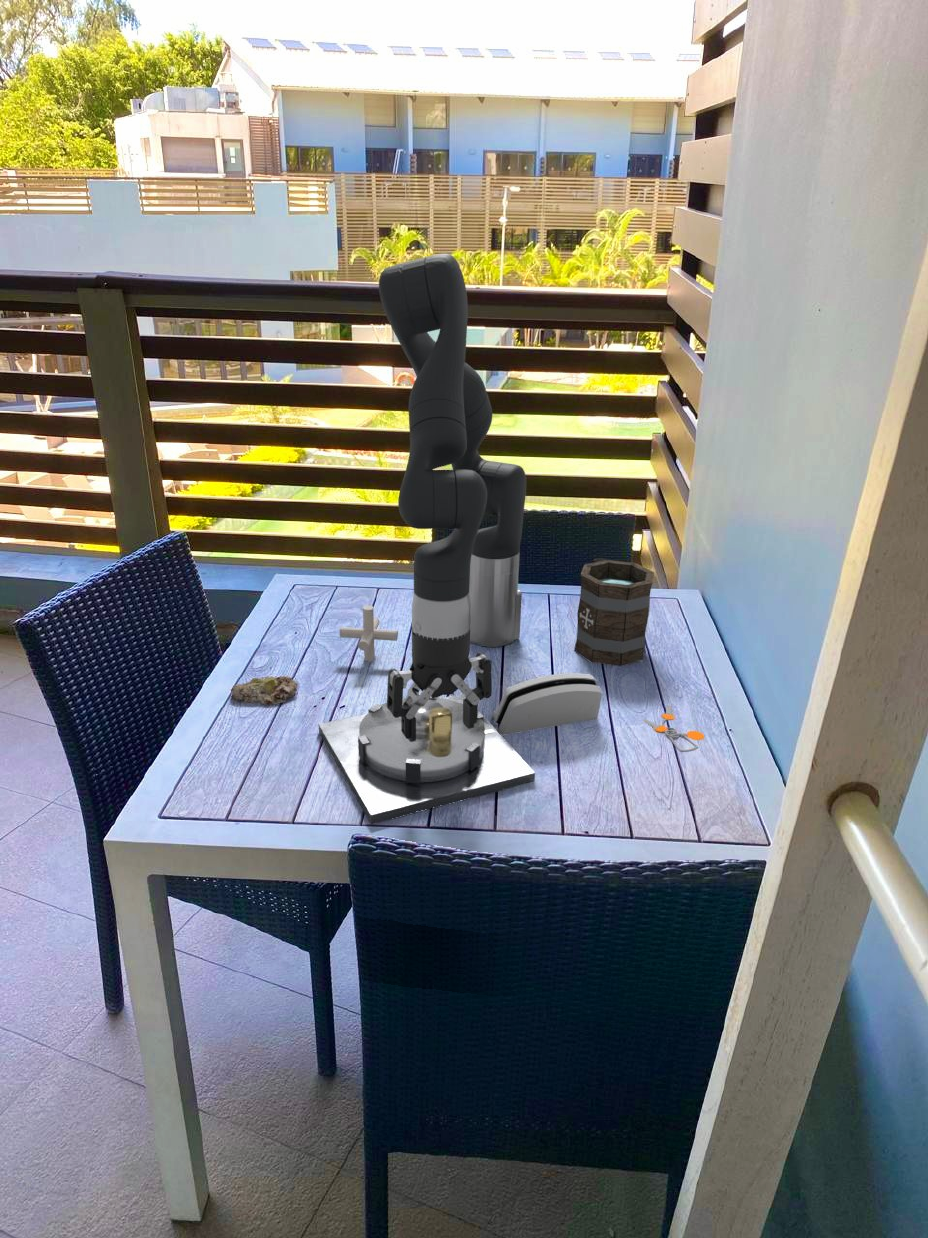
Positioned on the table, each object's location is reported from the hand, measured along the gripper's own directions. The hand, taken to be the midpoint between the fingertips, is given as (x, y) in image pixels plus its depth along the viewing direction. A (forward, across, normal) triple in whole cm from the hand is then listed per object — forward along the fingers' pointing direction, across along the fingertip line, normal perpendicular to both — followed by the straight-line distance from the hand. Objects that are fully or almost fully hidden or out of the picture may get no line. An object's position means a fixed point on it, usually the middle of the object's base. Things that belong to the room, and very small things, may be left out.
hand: (439, 732), depth 117 cm
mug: (+8, -46, -29) cm, 55 cm away
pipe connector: (+8, -3, -38) cm, 39 cm away
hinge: (+8, -22, -8) cm, 24 cm away
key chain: (+8, -39, +1) cm, 40 cm away
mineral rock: (+8, +17, -33) cm, 38 cm away
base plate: (+8, 0, -6) cm, 10 cm away
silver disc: (+6, 0, -6) cm, 9 cm away
